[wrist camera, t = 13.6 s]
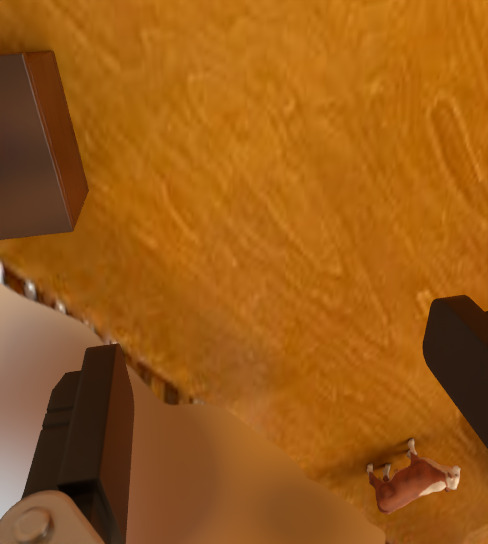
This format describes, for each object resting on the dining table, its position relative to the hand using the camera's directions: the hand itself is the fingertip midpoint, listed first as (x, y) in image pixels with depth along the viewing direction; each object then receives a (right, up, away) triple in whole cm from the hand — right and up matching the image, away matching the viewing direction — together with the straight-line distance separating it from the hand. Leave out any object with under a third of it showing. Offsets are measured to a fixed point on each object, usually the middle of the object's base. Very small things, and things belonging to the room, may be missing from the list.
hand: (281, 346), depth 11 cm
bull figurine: (+23, -27, +59) cm, 69 cm away
